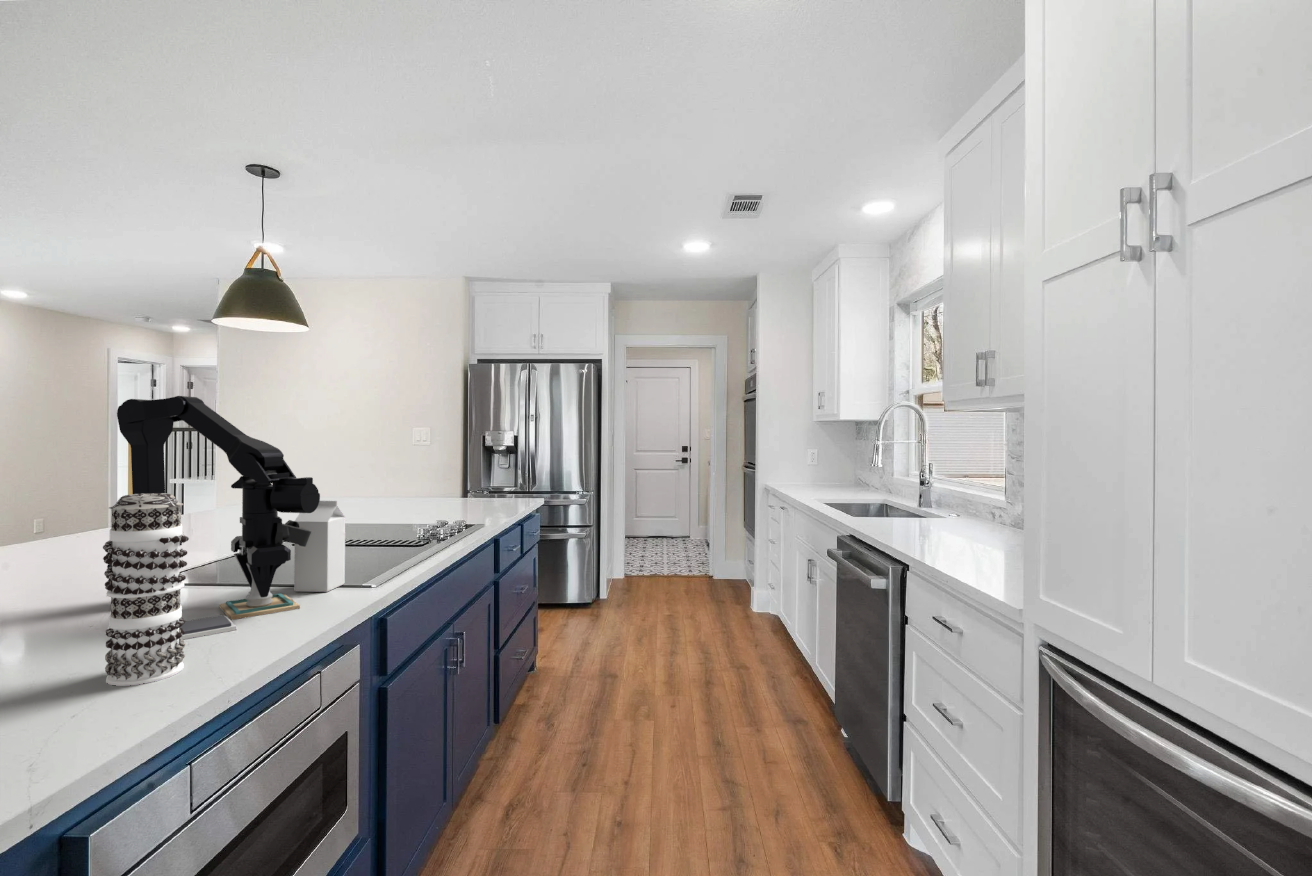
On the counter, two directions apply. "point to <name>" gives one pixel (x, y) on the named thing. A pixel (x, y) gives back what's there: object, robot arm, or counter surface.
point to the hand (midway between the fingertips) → (259, 593)
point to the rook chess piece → (257, 598)
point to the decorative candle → (145, 589)
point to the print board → (241, 610)
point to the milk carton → (321, 550)
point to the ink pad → (207, 626)
